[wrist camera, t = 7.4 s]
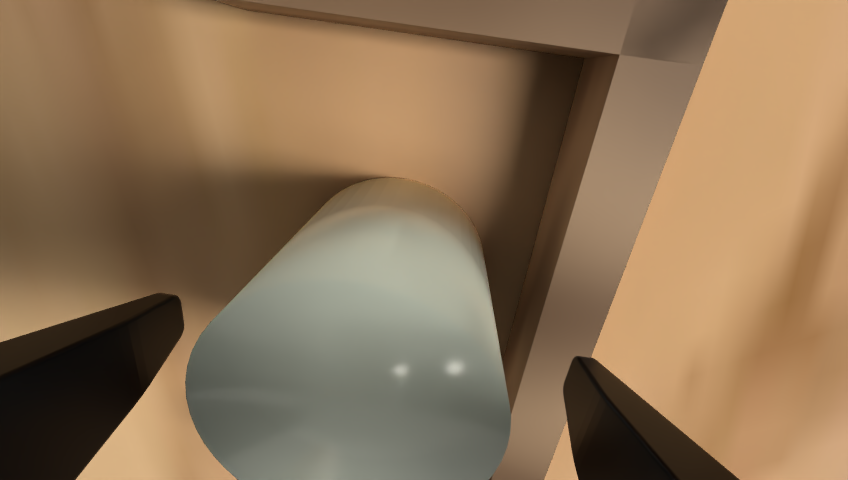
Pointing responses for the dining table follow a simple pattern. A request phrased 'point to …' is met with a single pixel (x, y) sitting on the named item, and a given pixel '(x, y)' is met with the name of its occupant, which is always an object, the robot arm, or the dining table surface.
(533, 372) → the dock
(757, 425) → the dining table surface
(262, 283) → the white rounded canister
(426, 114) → the dining table surface
